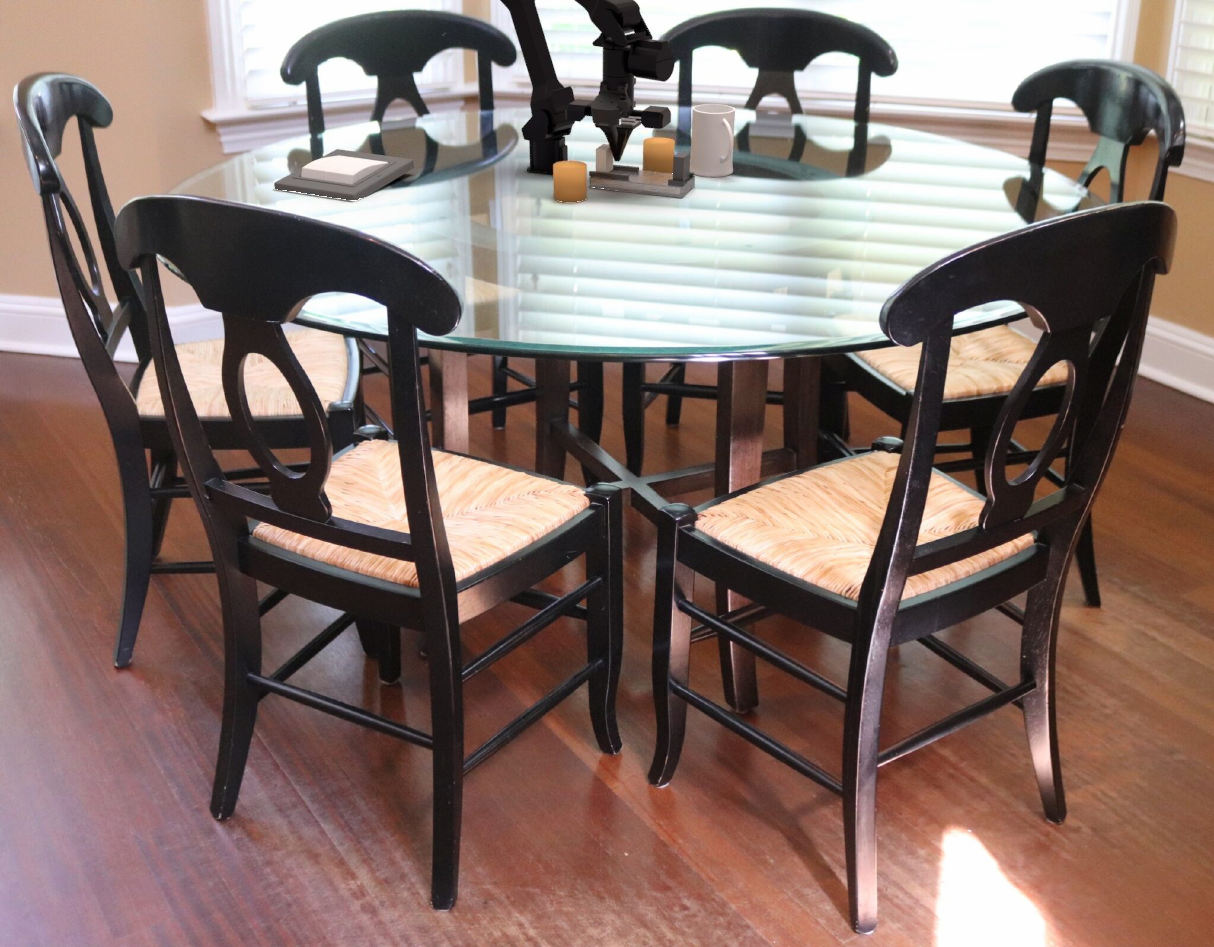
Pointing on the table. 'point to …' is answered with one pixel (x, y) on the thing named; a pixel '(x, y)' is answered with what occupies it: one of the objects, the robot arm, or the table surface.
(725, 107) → the mug
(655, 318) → the table surface
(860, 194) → the table surface
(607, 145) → the beige cardboard box
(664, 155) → the orange short rounded piece
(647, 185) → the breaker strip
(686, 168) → the toggle black
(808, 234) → the table surface
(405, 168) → the light switch
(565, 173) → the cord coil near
